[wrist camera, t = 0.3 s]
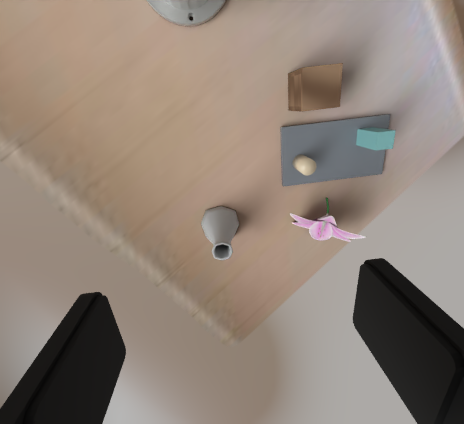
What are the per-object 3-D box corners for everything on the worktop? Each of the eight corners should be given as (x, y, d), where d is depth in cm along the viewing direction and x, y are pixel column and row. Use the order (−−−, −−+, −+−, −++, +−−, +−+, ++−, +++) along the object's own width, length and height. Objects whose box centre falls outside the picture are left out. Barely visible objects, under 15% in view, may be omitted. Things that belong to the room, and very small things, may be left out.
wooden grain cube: (288, 73, 38) (302, 67, 32) (321, 69, 38) (342, 63, 32) (288, 110, 40) (302, 111, 34) (320, 106, 40) (339, 106, 34)
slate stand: (280, 127, 41) (288, 129, 36) (387, 114, 41) (408, 115, 37) (282, 185, 45) (289, 193, 40) (379, 172, 45) (397, 180, 41)
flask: (240, 205, 46) (247, 230, 37) (238, 239, 49) (244, 271, 39) (200, 205, 45) (198, 230, 36) (201, 239, 48) (198, 271, 39)
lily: (278, 191, 46) (279, 234, 40) (344, 169, 41) (357, 215, 35) (301, 225, 54) (305, 266, 48) (360, 210, 48) (373, 254, 42)
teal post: (357, 129, 41) (378, 132, 36) (372, 127, 41) (395, 130, 36) (356, 145, 42) (375, 150, 37) (371, 143, 42) (392, 148, 37)
